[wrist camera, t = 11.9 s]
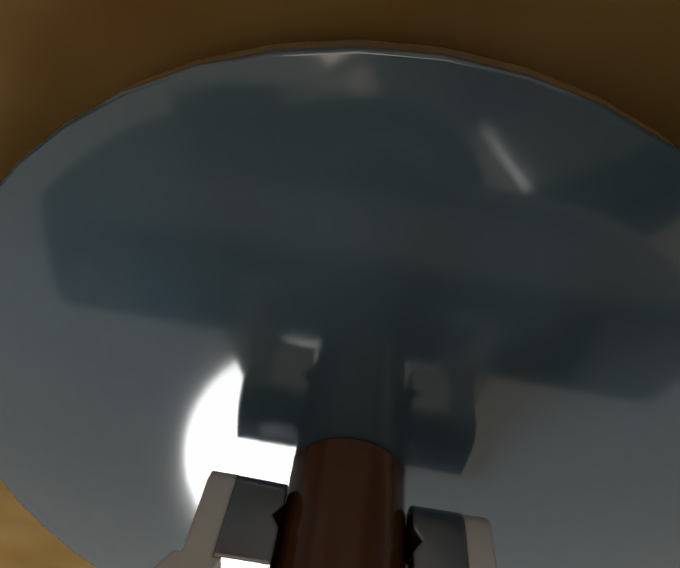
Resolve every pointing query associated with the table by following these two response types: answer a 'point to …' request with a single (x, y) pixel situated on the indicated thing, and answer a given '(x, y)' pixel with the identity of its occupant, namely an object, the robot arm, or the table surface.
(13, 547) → the table surface
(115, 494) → the lid
